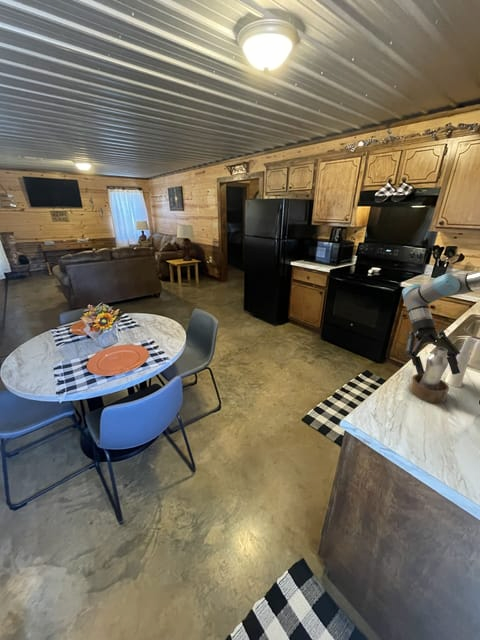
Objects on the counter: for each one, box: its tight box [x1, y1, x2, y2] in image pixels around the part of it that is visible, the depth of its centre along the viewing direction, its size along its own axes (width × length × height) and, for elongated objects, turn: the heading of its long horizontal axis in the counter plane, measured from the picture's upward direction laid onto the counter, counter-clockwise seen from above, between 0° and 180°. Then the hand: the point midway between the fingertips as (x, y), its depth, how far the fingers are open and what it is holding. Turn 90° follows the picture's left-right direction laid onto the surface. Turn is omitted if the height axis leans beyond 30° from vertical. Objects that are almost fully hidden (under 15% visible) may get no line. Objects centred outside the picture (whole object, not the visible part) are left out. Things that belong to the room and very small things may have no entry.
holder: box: [409, 373, 450, 404], centre depth 102 cm, size 12×12×6 cm
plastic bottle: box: [419, 346, 449, 390], centre depth 100 cm, size 6×7×20 cm
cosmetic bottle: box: [444, 336, 475, 388], centre depth 106 cm, size 6×6×22 cm
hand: (438, 374), depth 97 cm, fingers open, 13 cm apart
